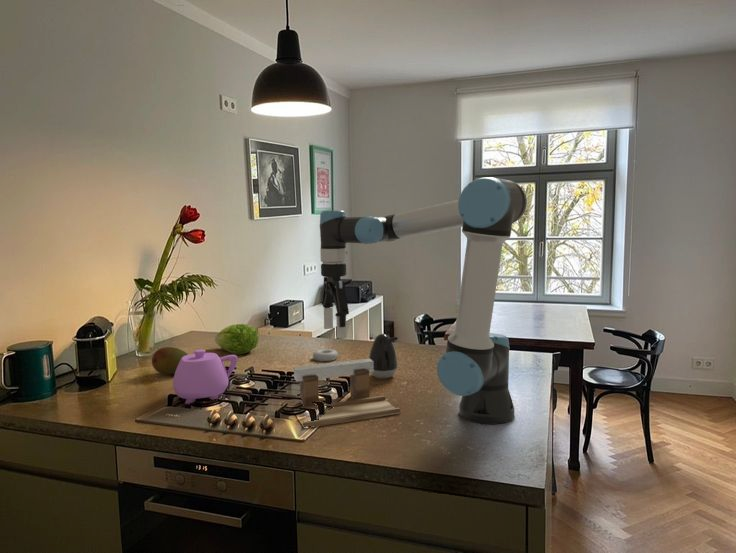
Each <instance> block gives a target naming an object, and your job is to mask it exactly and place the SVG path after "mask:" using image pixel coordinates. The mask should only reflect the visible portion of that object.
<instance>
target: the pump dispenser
mask: <svg viewBox="0 0 736 553" xmlns="http://www.w3.org/2000/svg"><path fill="white" fill-rule="evenodd" d="M397 340H399V338H398V336H393V337H390V336H389V335H388V334H385V333H380V334H378V335H377V336H375V338H374V340H373V343H372V345H371V348H370V351H369V357H368V359H371V360H372V361H374V372H372V373H371V375H372V376H374V378H376V379H383V380H384V379H390V378H391V377H393V376H394V375H395V374H396V372H397V369H398V367H399V366H398V364H399V363H398V356H397V351H396V349H395V346H394V343H393V342H395V341H397Z"/></svg>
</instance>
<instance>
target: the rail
mask: <svg viewBox="0 0 736 553" xmlns="http://www.w3.org/2000/svg"><path fill="white" fill-rule="evenodd" d="M362 370H369V374H372V372H374V361H372V360H371V359H369V358H362V359H361V358H360V359H353V360H344V361H335V362H326V363H319V364H318V363H317V364H309V365H308V364H307V365H302V366H300V365H299V366H294V367H293V377H294V380H295V382H297V383H300V381H304V378H305V377H313V376H318V380H325V379H330V378H331V379H332V378H338V377H347V376H350V375H356V371H362Z"/></svg>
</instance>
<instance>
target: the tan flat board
mask: <svg viewBox="0 0 736 553" xmlns="http://www.w3.org/2000/svg"><path fill="white" fill-rule="evenodd" d="M330 403H331V404H328V403H325V404H326V405H325V406H332V407H334V408H332V409H330V410H327V411H326V413H325V414H324V415H322V416H321V417H319V420H314V421H307V422H303V426H304V427H306V426H316V427H323V426H328V425H329V426H330V425H334V424H341V423H348V422H353V421H354V422H355V421H361V420H366V419H373V418H379V417H384V416H385V417H387V416H392V415H399V414H401V408H400V407H395V406H394V405H392V403H390V402H389V401H388V400H386V396H385V395H378V396H373V397H372V396H371V397H370V398H363V399H356V400H355V399H350V400H344V401H336V402H330ZM301 408H314V409H316V410H317V409H318V407H317V405H314V406H307V407H304V406H303V407H302V406H301Z"/></svg>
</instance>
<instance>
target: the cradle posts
mask: <svg viewBox="0 0 736 553" xmlns="http://www.w3.org/2000/svg"><path fill="white" fill-rule="evenodd" d="M349 383H350V384H349V389H350V390H349V394H350V396H351V397H352V398H353V400H356V399H363V398H370V396H371V395H370V373H369V370H362V371H356V375H349ZM319 391H320V390H319V379H318V376H313V377H305V378H304V381H300V382H299V392H300V393H299V394H300V396H299V397H300V398H301V399H302V402H303V404H304V406H305V407H307V406H314V405H315V404H314V403H312V402H314V401H319V400H320V399H319V398H320V393H319ZM319 402H320V401H319ZM304 406H303V407H304Z"/></svg>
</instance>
